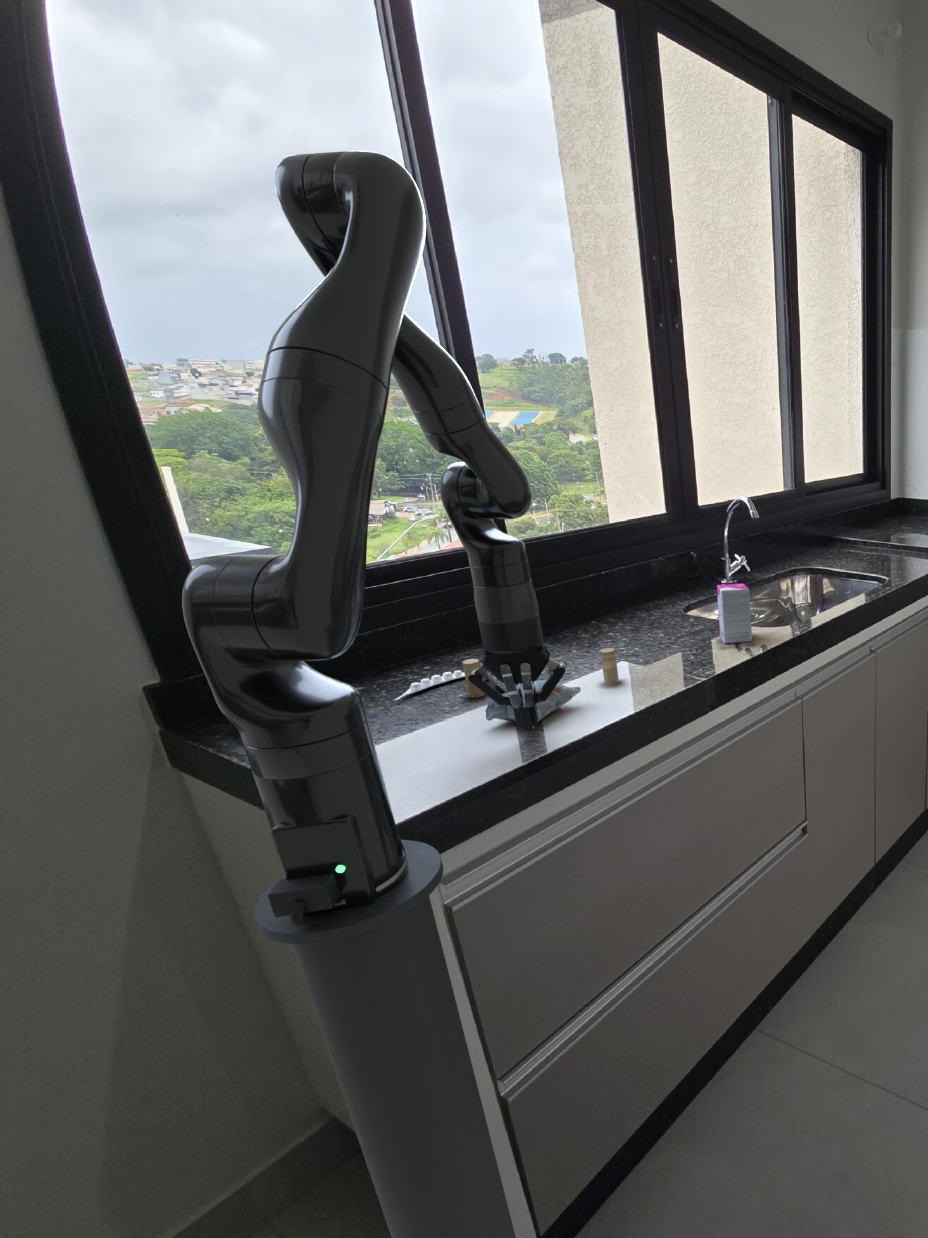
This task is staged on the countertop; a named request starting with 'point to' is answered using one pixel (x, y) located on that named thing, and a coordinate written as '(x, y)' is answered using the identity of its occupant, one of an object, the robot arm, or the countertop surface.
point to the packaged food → (552, 703)
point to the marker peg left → (468, 667)
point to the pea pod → (432, 682)
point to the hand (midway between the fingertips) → (529, 728)
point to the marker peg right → (609, 666)
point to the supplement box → (734, 613)
